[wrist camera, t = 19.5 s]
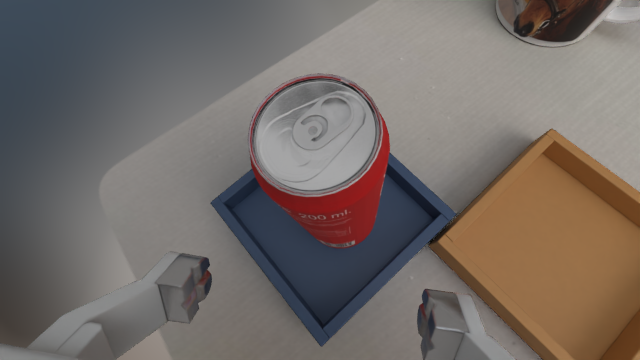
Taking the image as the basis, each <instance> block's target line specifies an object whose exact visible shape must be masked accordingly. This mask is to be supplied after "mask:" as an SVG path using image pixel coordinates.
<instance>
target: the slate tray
mask: <svg viewBox="0 0 640 360" xmlns="http://www.w3.org/2000/svg"><path fill="white" fill-rule="evenodd" d="M211 204H212V206H213V207H214V208H215V210H216V211H217V212H218V214H219V215H220V216H221V217H222V219H223V220H224V221H225V223H226V224H227V225H228V227H229V228H230V229H231V230H232V232H233V233H234V234H235V236H236V237H237V238H238V240H239V241H240V242H241V243H242V245H243V246H244V247H245V249H246V250H247V251H248V253H249V254H250V255H251V256H252V258H253V259H254V260H255V262H256V263H257V264H258V266H259V267H260V268H261V269H262V271H263V272H264V273H265V275H266V276H267V277H268V279H269V280H270V281H271V282H272V284H273V285H274V286H275V288H276V289H277V290H278V292H279V293H280V294H281V295H282V297H283V298H284V299H285V301H286V302H287V303H288V305H289V306H290V307H291V308H292V310H293V311H294V312H295V314H296V315H297V316H298V318H299V319H300V320H301V321H302V323H303V324H304V325H305V327H306V328H307V329H308V330H309V332H310V333H311V334H312V336H313V337H314V338H315V340H316V341H317V342H318V343H319V345H320V346H323V345H324V344H325V343H326V342H327V341H328V340H329V339H330V338H331V337H332V336H333V335H334V334H335V333H336V332H337V331H338V330H339V329H340V328H341V327H342V326H343V325H344V324H345V323H346V322H347V321H348V320H349V319H350V318H351V317H352V316H353V315H354V314H355V313H356V312H357V311H358V310H359V309H361V308H362V307H363V306H364V305H365V304H366V303H367V302H368V301H369V300H370V299H371V298H372V297H373V296H374V295H375V294H376V293H377V292H378V291H379V290H380V289H381V288H382V287H383V286H384V285H385V284H386V283H387V282H388V281H389V280H390V279H391V278H392V277H393V276H394V275H395V274H396V273H397V272H398V271H399V270H400V269H401V268H402V267H403V266H404V265H405V264H406V263H407V262H408V261H409V260H410V259H411V258H412V257H413V256H414V255H415V254H416V253H418V252H419V251H420V250H421V249H422V248H423V247H424V246H425V245H426V244H427V243H428V242H429V241H430V240H431V239H432V238H433V237H434V236H435V235H436V234H437V233H438V232H439V231H440V230H441V229H442V228H443V227H444V226H445V225H446V224H447V223H448V222H449V221H450V220H451V219H452V218H453V217H454V216H455V215H456V213H455V212H454V211H453V210H452V209H450V208H449V207H448V206H447V205H446V204H445V203H444V202H443V201H442V200H441V199H440V198H438V197H437V196H436V195H435V194H434V193H433V192H432V191H431V190H430V189H429V188H428V187H427V186H425V185H424V184H423V183H422V182H421V181H420V180H419V179H418V178H417V177H416V176H415V175H413V174H412V173H411V172H410V171H409V170H408V169H407V168H406V167H405V166H404V165H403V164H402V163H400V162H399V161H398V160H397V159H396V158H395V157H394V156H393V155H392V154H391V153H390V152H389V158H388V164H387V169H386V173H385V178H384V182H383V187H382V192H381V196H380V201H379V206H378V210H377V215H376V220H375V223H374V226H373V229H372V230H371V232H370V234H369V235H368V236H367V237H366V238H365V239H364V240H363V241H362V242H360V243H359V244H357V245H355V246H352V247H349V248H332V247H329V246H326V245H324V244H322V243H321V242H319V241H318V240H317V239H316V238H315V237H313V236H312V235H311V234H310V233H309V232H308V231H307V230H306V229H305V228H303V227H302V226H301V225H300V224H299V223H298V222H297V221H296V220H294V219H293V218H292V217H291V216H290V215H289V214H288V213H287V212H286V211H284V210H283V209H282V208H281V207H280V206H279V205H278V204H277V203H275V202H274V201H273V200H272V199H271V198H270V197H269V196H268V195H267V194H266V193H265V192H264V191H263V189H262V188H261V186H260V184H259V183H258V181H257V180H256V177H255V175H254V172H253V169H251V170H250V171H249V172H248V173H246V174H245V175H244V176H243V177H241V178H240V179H239V180H238V181H236V182H235V183H234V184H233V185H231V186H230V187H229V188H228V189H226V190H225V191H224V192H223V193H221V194H220V195H219V196H218V197H217V198H215V199H214V200H213V201H212V202H211Z"/></svg>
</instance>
